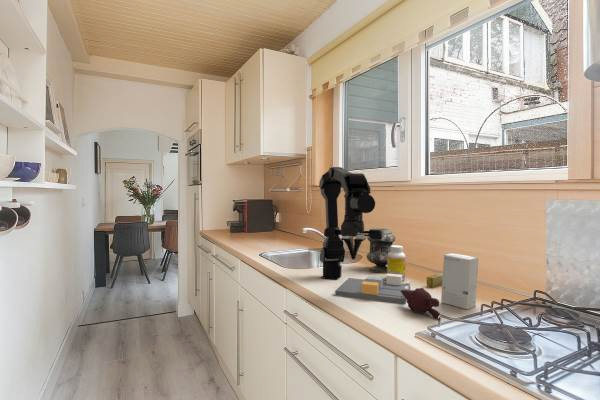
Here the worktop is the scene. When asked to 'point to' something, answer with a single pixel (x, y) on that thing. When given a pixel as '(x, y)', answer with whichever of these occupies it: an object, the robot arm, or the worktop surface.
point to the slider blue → (375, 280)
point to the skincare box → (459, 280)
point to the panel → (385, 294)
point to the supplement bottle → (396, 261)
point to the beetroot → (421, 301)
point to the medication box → (435, 280)
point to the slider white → (394, 279)
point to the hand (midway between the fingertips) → (353, 259)
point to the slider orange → (370, 288)
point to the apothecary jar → (380, 251)
